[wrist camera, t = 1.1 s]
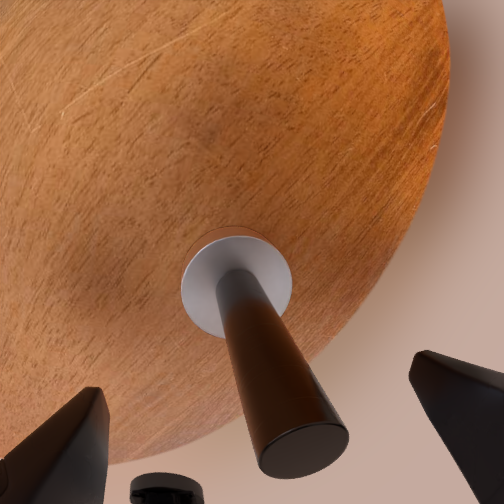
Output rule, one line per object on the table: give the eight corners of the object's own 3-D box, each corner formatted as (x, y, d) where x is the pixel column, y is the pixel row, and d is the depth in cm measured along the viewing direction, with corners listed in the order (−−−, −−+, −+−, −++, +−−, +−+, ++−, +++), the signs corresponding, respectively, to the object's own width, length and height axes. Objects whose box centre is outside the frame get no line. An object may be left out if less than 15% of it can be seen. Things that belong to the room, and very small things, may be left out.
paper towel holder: (278, 316, 17) (376, 481, 7) (184, 322, 16) (196, 517, 6) (283, 225, 16) (436, 338, 5) (179, 227, 15) (165, 376, 4)
